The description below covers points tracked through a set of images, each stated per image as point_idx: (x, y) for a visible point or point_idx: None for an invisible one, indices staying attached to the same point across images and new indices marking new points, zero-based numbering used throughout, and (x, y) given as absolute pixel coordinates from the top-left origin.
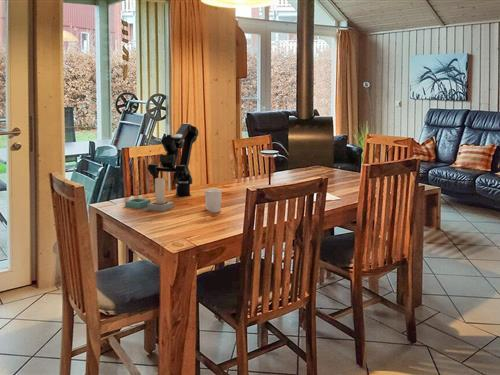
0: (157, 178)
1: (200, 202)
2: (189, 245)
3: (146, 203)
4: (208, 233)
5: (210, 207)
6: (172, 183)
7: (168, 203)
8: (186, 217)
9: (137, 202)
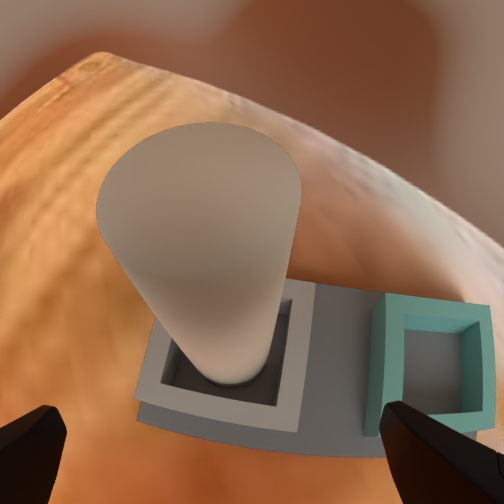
0: (263, 205)
1: None
2: (68, 71)
3: (375, 382)
4: (16, 127)
5: None
6: (48, 411)
7: (155, 344)
8: (50, 243)
9: (412, 304)
